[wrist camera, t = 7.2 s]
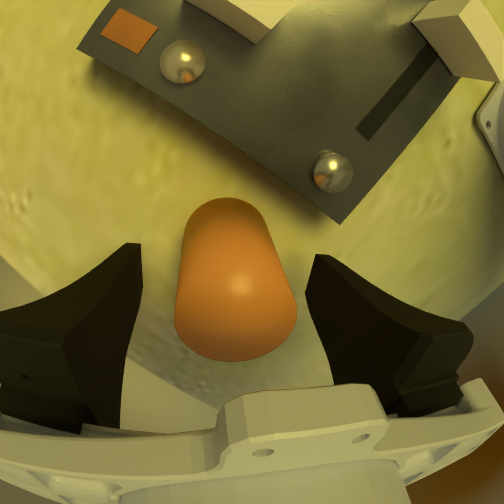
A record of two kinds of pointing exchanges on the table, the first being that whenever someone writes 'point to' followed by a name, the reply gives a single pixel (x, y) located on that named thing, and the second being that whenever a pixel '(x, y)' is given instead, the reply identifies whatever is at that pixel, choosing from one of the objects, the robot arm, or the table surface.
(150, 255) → the table surface
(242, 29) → the block
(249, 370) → the table surface
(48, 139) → the table surface
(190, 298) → the cap
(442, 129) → the table surface
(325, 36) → the breaker panel
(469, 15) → the block
